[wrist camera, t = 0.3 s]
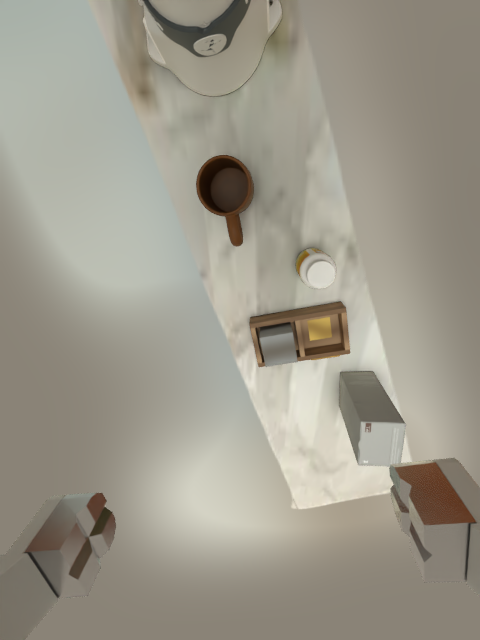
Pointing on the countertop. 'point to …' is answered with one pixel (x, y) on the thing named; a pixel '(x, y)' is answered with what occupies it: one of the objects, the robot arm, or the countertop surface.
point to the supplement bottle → (316, 268)
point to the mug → (226, 191)
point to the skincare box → (371, 420)
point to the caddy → (300, 334)
